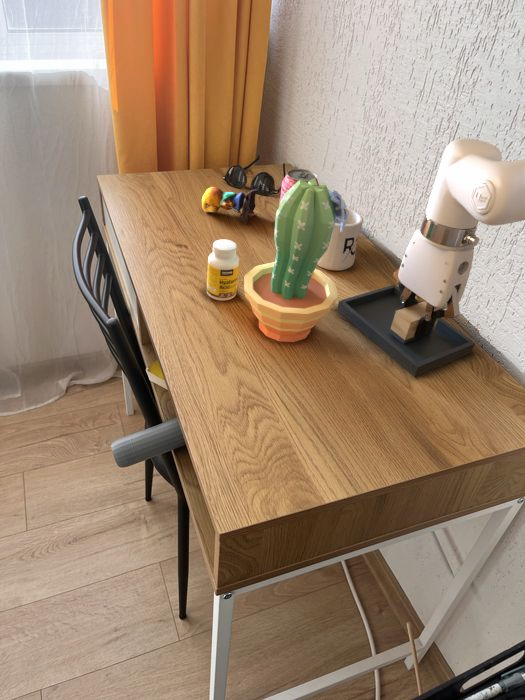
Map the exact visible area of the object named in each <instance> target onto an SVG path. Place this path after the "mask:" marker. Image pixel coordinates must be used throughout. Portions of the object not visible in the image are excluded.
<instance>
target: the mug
mask: <svg viewBox="0 0 525 700" xmlns="http://www.w3.org/2000/svg"><path fill="white" fill-rule="evenodd" d="M347 210H348V218H347V222H346V224H345V227H344V230H343V232H340V229H341V221H339V219H336V220H335V225H334V228H333V232H332V236H331V239H330V243H329V247H328V249H327V250H326V252H325V253H324V254H323V256H322V257H321V258H320V260H319V261H318V263H317V265H316V266H318V267H320V268H321V269H324V270H328V271H337V272H338V271H344V270H347V269H349V268H351V267H352V266H353V265H354V263H355V259H356V249H357V243H358V238H359V235H360V231H361V228H362V226H363V223H364V217H363V216H362V214H361V213H360V212H358V211H357V210H354V209H352V208H350V207H347Z"/></svg>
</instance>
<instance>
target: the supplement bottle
mask: <svg viewBox="0 0 525 700" xmlns="http://www.w3.org/2000/svg"><path fill="white" fill-rule="evenodd" d="M239 270H240V258H239V256H238V255H237V244H236V242H234V241H232V240H230V239H225V238H223V239H222V238H221V239H217V240H215V241H214V242H213V243H212V252H211V253H210V254H209V255H208V257H207V273H206V274H207V275H206V294H207V295H208V297H210V298H211V299H214V300H216V301H221V302H223V301H224V302H225V301H229V300H232V299H233V298H235V297H236V295H237V293H238V292H237V290H238V279H239Z"/></svg>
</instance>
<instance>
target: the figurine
mask: <svg viewBox="0 0 525 700" xmlns="http://www.w3.org/2000/svg"><path fill="white" fill-rule="evenodd" d="M257 191H258V189H252V190H250V191H248V193H247V194H245V193H244V192H240V193H237V192H232V191H226V192H224V191H223V190H222V189H221V188H219V187H216V186H210V187H209V188H206V190H205V191H204V194H203V195H202V199H201V206H202V210H203V211H204V212H205V213H216V212H218V211H219V210H220V209H223V210H225V211H229V210H230V211H231V210H233V211H235V212H236V213H238V214H239V213H240V215H239V216H240V217H241V221H242V222H244V224H246V225H248V224H249V223H248V220H249V219H250V218H252V217H253V216H255V212H254V210H255V209H256V193H257Z"/></svg>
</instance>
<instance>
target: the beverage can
mask: <svg viewBox="0 0 525 700" xmlns="http://www.w3.org/2000/svg"><path fill="white" fill-rule="evenodd" d="M318 176H319V175H318V174H317V173H316V172H314V171H312V170H309V169H304V168H292V169H288V170H287V171H286V175H285V176H284V178H283V179H282V181H281V187H280V188H281V189H280V197H279V204H278V207H279V206H280V202H281V200H282V199H283V197H284V195H285V194H286V192H287V191H288V190H289V189H290V188H291V187H293V186H294V185H295V184H296V183H297V182H298V181H299V180H300V179H303V180H304V181H306V182H307V183H308V182H309V181H310V180H311V179H315V180H316V182H317V186H320V184H319V181H318Z"/></svg>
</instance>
